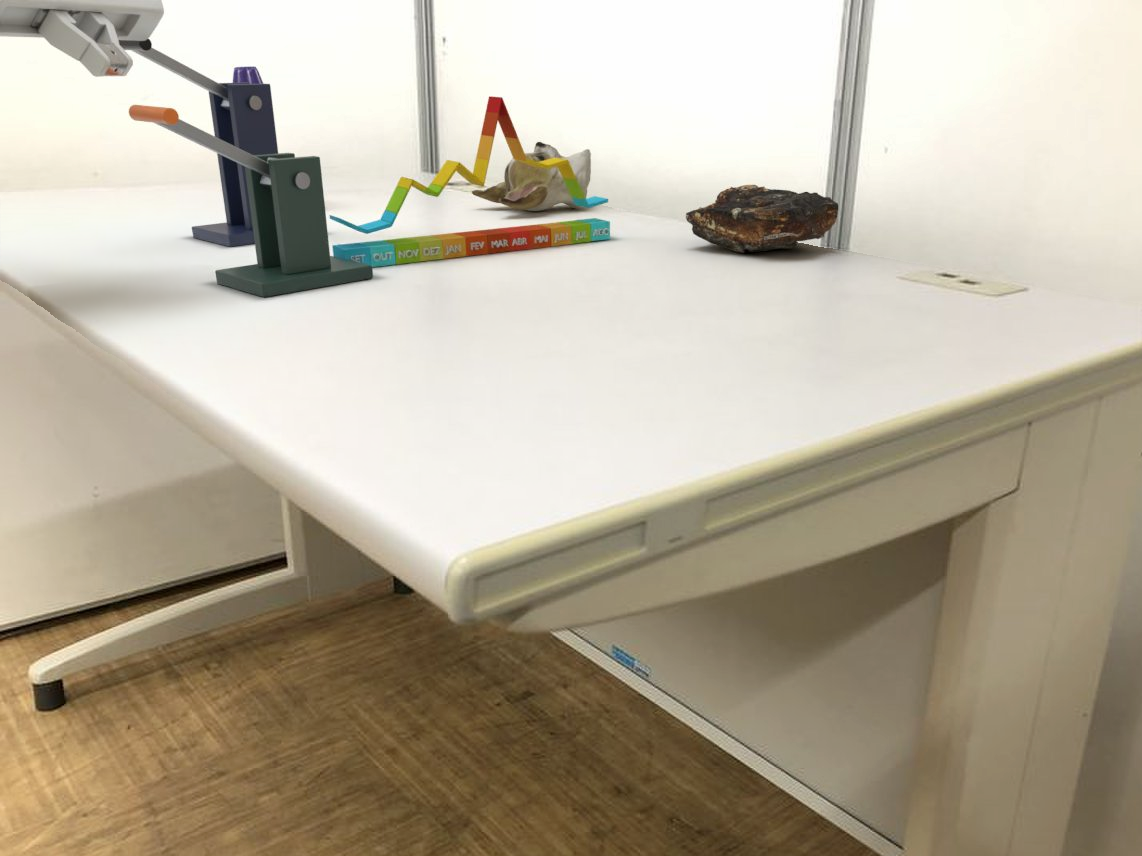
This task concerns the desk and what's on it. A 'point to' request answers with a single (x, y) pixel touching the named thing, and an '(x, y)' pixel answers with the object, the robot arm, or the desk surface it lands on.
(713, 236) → the fossil rock
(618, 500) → the desk surface
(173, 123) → the front lever
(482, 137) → the chart
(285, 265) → the front bracket
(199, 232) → the back bracket
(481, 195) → the ceramic sculpture
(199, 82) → the back lever
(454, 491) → the desk surface
